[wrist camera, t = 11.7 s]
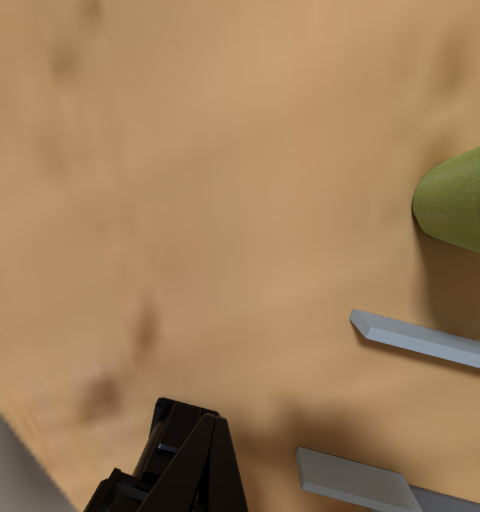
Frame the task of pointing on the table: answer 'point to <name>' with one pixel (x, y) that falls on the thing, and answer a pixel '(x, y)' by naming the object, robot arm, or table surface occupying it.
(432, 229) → the plant pot
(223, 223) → the table surface
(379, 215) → the table surface
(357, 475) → the grey zigzag track
